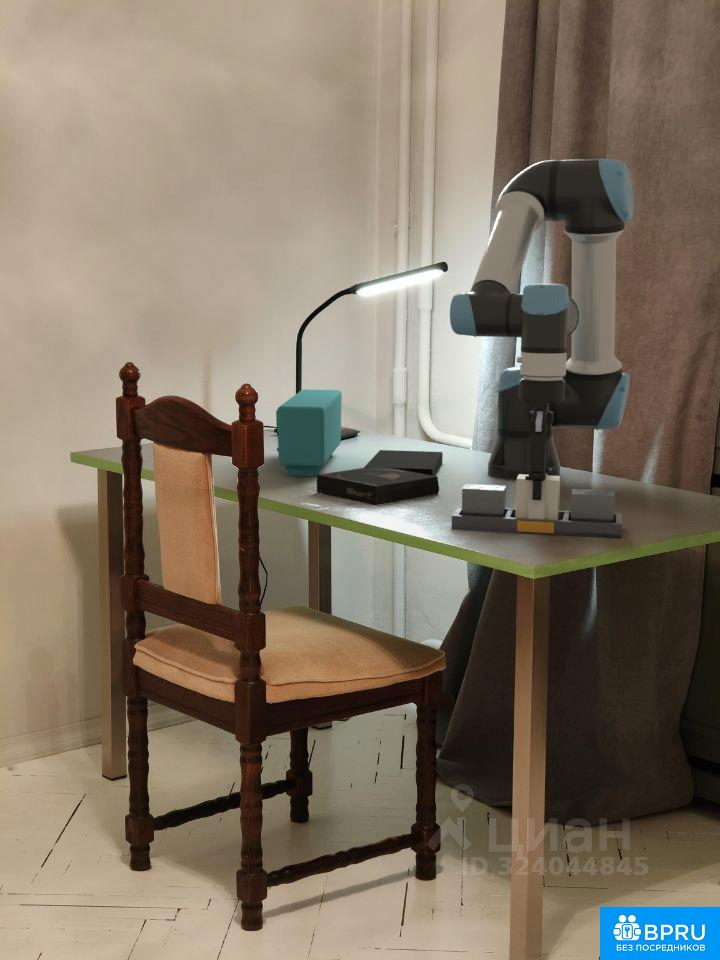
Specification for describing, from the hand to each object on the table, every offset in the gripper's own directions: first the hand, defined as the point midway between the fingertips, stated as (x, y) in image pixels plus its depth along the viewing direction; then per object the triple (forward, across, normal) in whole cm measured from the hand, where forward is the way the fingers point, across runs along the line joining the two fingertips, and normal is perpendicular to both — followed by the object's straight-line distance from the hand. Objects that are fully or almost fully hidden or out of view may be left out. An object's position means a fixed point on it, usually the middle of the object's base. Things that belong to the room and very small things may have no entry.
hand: (537, 514), depth 207 cm
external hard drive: (+3, -50, -31) cm, 59 cm away
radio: (+3, -52, -53) cm, 75 cm away
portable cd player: (+3, -24, -32) cm, 40 cm away
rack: (+2, 0, 0) cm, 2 cm away
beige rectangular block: (+2, 0, 0) cm, 2 cm away
